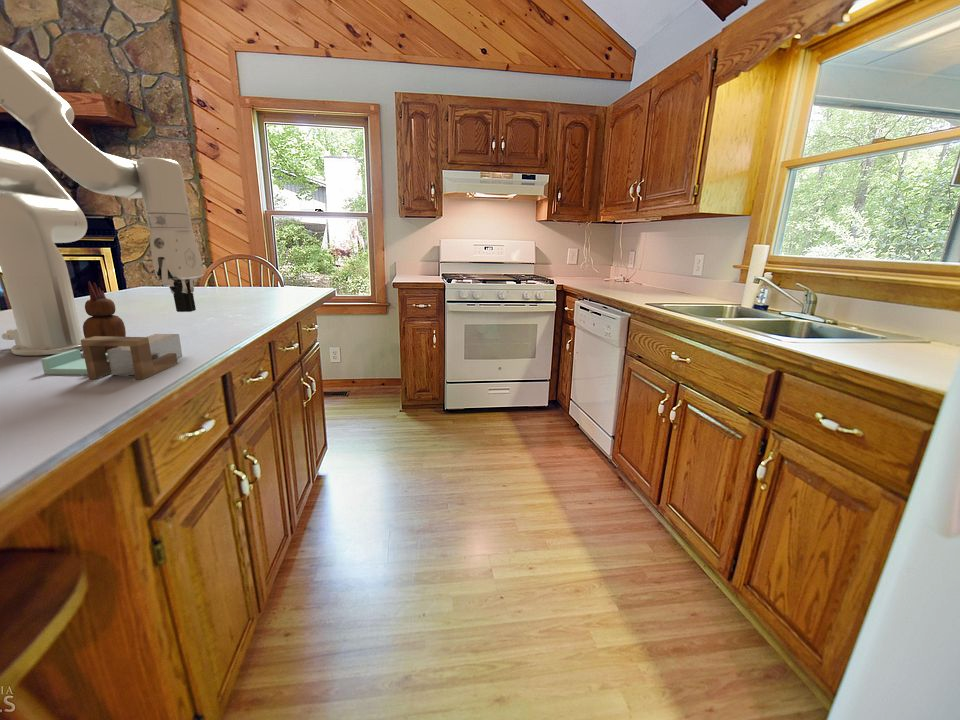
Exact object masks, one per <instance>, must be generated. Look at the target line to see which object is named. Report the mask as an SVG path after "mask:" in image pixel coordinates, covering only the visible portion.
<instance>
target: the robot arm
mask: <svg viewBox="0 0 960 720" xmlns="http://www.w3.org/2000/svg"><path fill="white" fill-rule="evenodd" d="M0 107H1V108H2V109H4V110H5V111H6V112H7V113H8V114H10V115H11V116H12V117H13V118H14V119H15V120H17V122H19V123H20V124H21V125H22V126H24V127H25V128H26V129H27V130H28V131H29V132H30V135H31V137H32V139H33V141H34V143H35V145H36V146H37V148H38V150H39V151H40V153H42V154H43V155H44V156H45V158H46V159H47V160H49V162H51V163H52V164H53V165H54V166H56V168H58V169H59V170H60V171H62V172H63V173H64V174H66V175H67V176H68V177H69V178H71V179H72V180H73V182H74V181H75V182H76V183H78V185H80V186H82V187H83V188H85V189H87V190H88V191H91V192H93V193H96V194H100V195H101V194H102V195H107V196H115V197H119V198H125V199H142V201H143V206H144V207H143V208H144V212H145V217H146V221H147V222H146V223H147V226H148V231H149V242H150V245H149V246H150V252H151V253H150V254H151V260H152V266H153V270H154V273H155V276H156V277H157V278H158V279H160V280H161V285H162V286H164V287H166V288H167V287H168V288H169V291H170V293H172V295H173V300H174V304H175V310H176V312H178V313H191V312H195V311H196V302H195V297H194V292H195V290H194V289H195V288H194V284H196V283H197V282H198V280H199V279H198V278H201V277H203V276H204V274H205V271H204V270H205V269H204V265H203V264H204V263H203V260H202V255H201V253H200V251H201V250H200V248H199V244H198V241H197V238H196V236H195V233H194V230H193V224H192V219H191V212H190V205H189V201H188V194H187V190H186V189H187V188H186V183H185V178H184V177H185V176H184V172H183V168H182V166H181V164H180V163H179V162H177V160H173V159H170V158H162V157H153V156H152V157H147V156H146V157H139V158H138V159H137V161H136V160H132V159H128V158H124V157H121V156H118V155H114V154H112V153H111V154H110V153H107V152H103V151H101V150H100V149H99V148H98V147H96V146H95V145H94V144H92V143H91V142H90V141H89V140H87V139H86V138H85V137H84V136H83V135H82V134H81V133H79V132H78V130H76V129H75V128H74V127H73V126H72V125H73V123H74V120H75V111H74V109H73V108H72V106H71V105H70V103H68V101H66V100H65V99H64V98H63V97H61V96H60V95H59V94H58V93H57V92H56V91H55V86H54V83H53V81H52V78H51V77H50V75H49V74H48V72H46V70H45V69H44V68H43V67H42V66H41V65H39V63H37V62H35V61H34V60H32V59H30V58H29V57H27V56H24V55H22V54H20V53H18V52H16V51H13V50H12V49H9V48H8V47H5V46H3V45H1V44H0ZM87 230H88V220H87V218H86V216H85V214H84V211H82V209H81V208H80V206H79V205H78V204H77V202H76V201H75V200H74V199H73V198H72V197H71V196H70V194H69V193H68V192H67V191H66V189H65V188H64V187H62V185H61V184H60V183H59V181H57V180H56V178H55V177H54V176H53V175H52V174H51V173H50V172H49V170H48V169H47V168H46V167H45V166H44V165H43V164H42V163H41V162H39V161H38V160H37V159H35V158H34V157H33V156H30V155H29V154H27V153H24V152H23V151H20V150H16V149H13V148H8V147H5V146H0V269H1V273H2V276H3V281H4V283H5V287H6V288H5V289H6V292H7V295H8V299H9V303H10V306H11V310H12V315H13V319H14V321H15V322H14V323H15V327H16V329H11V328H10V329H7V331H6V332H5V333H2V335H1V339H2V340H5V341H9V340H10V341H11V340H12V341H13V340H14V343H15V345H13V346H12V347H10V351H11V353H12V354H13V355H17V356H24V357H25V356H28V357H29V356H34V357H35V356H48V355H49V356H50V355H51V356H52V355H56V354H60V353H63V352H67V351H70V350H74V349H80V351H81V350H82V351H83V349H82V345H81V340H82V339H85V337H84V336H83V334H82V329H81V324H80V320H79V316H78V311H77V306H76V302H75V301H76V300H75V297H74V293H73V292H74V291H73V288H72V283H71V277H70V274H69V270H68V267H67V266H68V265H67V262H66V260H65V258H64V257H63V256H64V255H62V253H61V251H60V250H59V249H58V246H57V245H56V244H63V243H64V244H66V243H67V244H68V243H72V242H76V241H79V240H81V239H82V238H83V237H84V236H86V233H87Z"/></svg>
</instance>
